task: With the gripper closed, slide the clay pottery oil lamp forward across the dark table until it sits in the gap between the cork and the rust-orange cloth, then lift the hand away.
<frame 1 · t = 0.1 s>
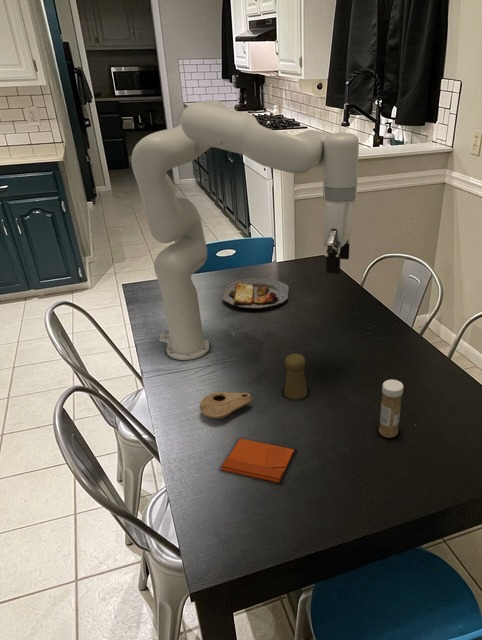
hand: (337, 265, 122), 31 cm above the table, tool pointing down, fingers open, 9 cm apart
cork: (295, 393, 130), on the table
food plate: (256, 298, 181), on the table
pottery oil lamp: (227, 413, 123), on the table
rust cloth: (258, 460, 109), on the table
sprinkles bottle: (388, 432, 117), on the table
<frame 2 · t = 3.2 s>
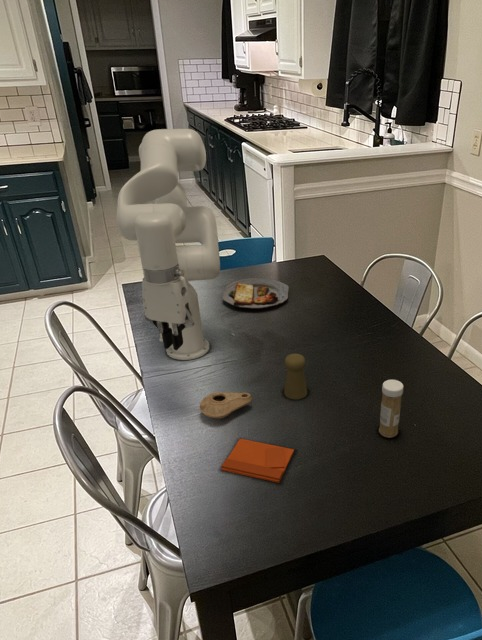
hand: (173, 346, 117), 17 cm above the table, tool pointing down, fingers closed
nothing on the table moved.
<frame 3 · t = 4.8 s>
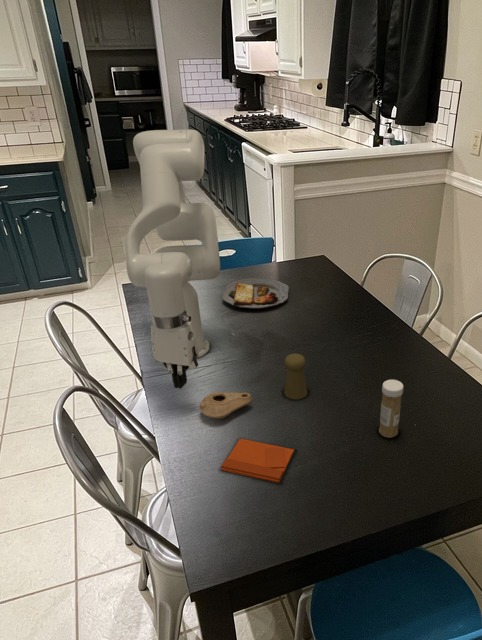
hand: (180, 385, 123), 6 cm above the table, tool pointing down, fingers closed
nothing on the table moved.
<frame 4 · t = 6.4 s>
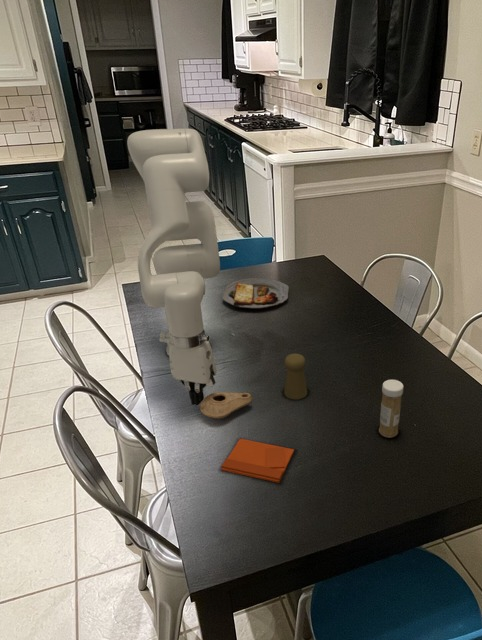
hand: (197, 401, 124), 2 cm above the table, tool pointing down, fingers closed
pottery oil lamp: (227, 413, 123), on the table, touching gripper
everything else where it was.
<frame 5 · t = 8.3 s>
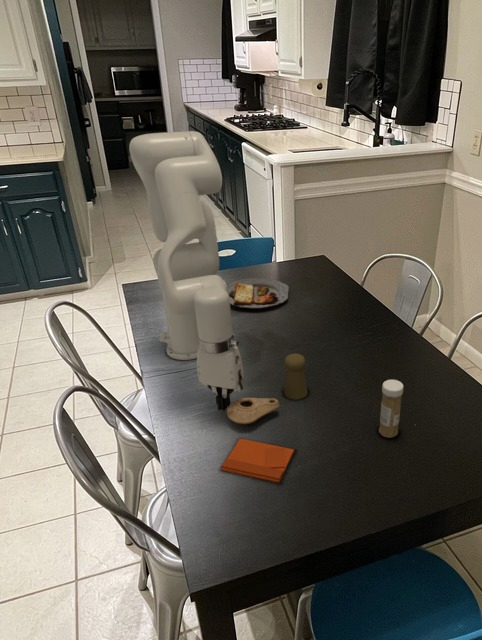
hand: (224, 407, 122), 2 cm above the table, tool pointing down, fingers closed
pottery oil lamp: (254, 419, 121), on the table, touching gripper
everything else where it was.
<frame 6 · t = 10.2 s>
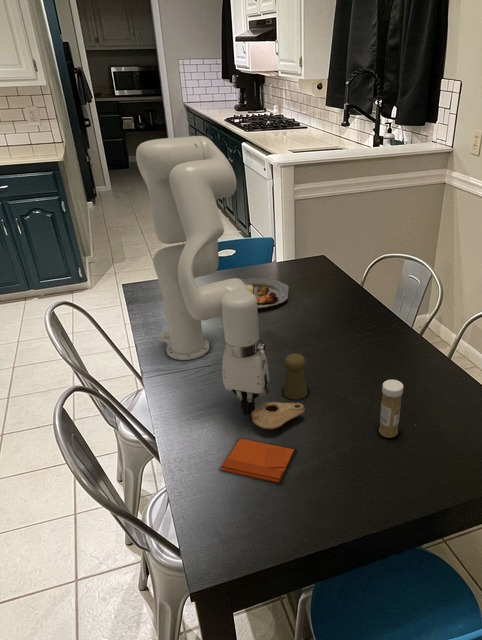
hand: (248, 411, 121), 2 cm above the table, tool pointing down, fingers closed
pottery oil lamp: (279, 424, 120), on the table, touching gripper
everything else where it was.
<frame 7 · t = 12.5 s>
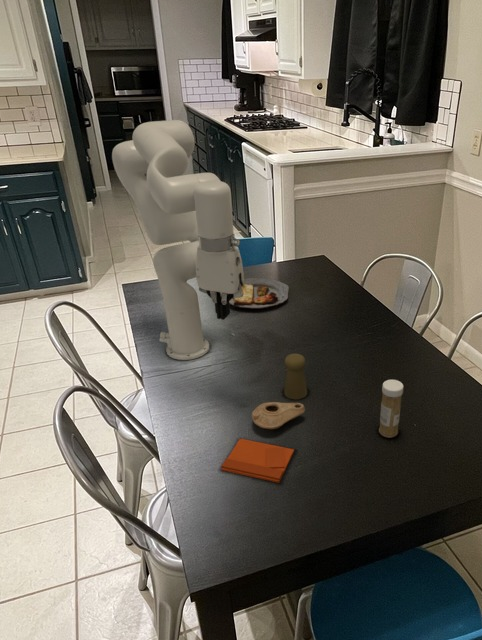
hand: (223, 316, 118), 22 cm above the table, tool pointing down, fingers closed
pottery oil lamp: (279, 424, 120), on the table
everything else where it was.
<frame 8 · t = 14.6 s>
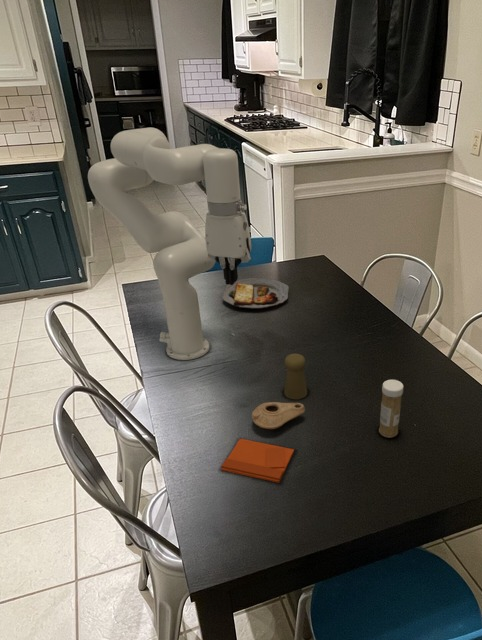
hand: (231, 282, 124), 27 cm above the table, tool pointing down, fingers closed
nothing on the table moved.
at the end: pottery oil lamp inside the target area (0.4 cm from its centre), on the table; pottery oil lamp tilted 1°; cork moved 0.2 cm from its start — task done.
